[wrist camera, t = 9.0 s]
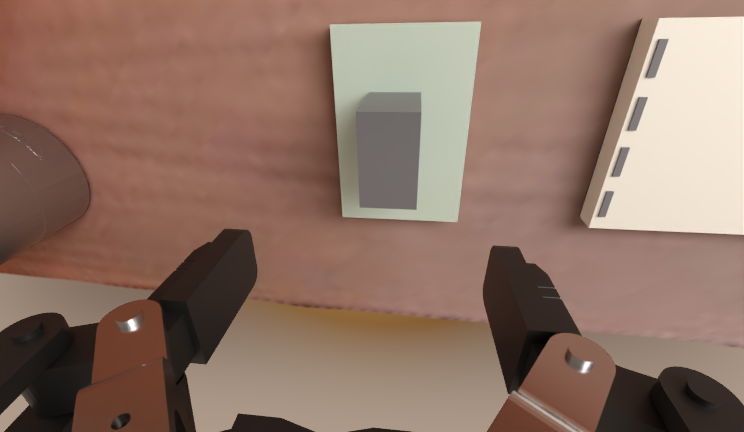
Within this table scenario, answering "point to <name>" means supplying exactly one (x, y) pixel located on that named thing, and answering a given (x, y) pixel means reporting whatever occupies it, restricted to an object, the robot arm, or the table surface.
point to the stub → (403, 116)
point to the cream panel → (675, 132)
